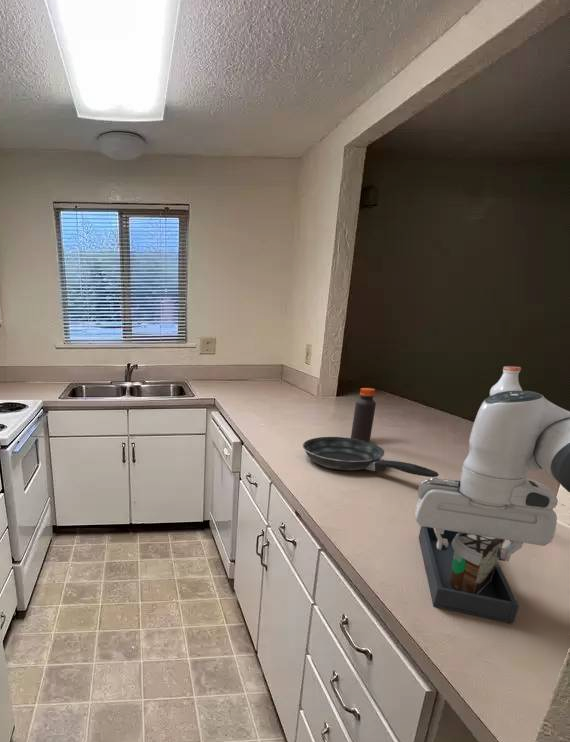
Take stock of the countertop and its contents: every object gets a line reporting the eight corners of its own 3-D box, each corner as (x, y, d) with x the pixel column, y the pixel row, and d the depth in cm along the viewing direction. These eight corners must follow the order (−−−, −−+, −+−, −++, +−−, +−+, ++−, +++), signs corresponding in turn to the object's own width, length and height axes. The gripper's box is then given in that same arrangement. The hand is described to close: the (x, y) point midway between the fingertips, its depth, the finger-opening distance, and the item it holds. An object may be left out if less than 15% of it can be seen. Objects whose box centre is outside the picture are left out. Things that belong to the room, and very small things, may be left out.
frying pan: (285, 456, 150) (287, 438, 147) (337, 445, 160) (340, 427, 158) (400, 506, 113) (405, 483, 111) (458, 487, 124) (463, 465, 121)
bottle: (354, 444, 162) (362, 391, 155) (347, 438, 168) (354, 387, 161) (372, 444, 161) (381, 390, 154) (365, 438, 168) (373, 387, 161)
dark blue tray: (479, 547, 94) (483, 532, 93) (513, 624, 72) (519, 605, 71) (418, 537, 99) (421, 522, 97) (433, 606, 77) (437, 588, 75)
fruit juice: (487, 438, 166) (506, 364, 156) (514, 445, 158) (536, 367, 148) (471, 441, 163) (489, 366, 153) (497, 448, 155) (518, 369, 145)
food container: (458, 563, 88) (469, 520, 84) (493, 578, 83) (507, 532, 80) (430, 587, 81) (442, 540, 77) (468, 604, 76) (481, 555, 73)
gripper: (423, 482, 76) (408, 550, 81) (571, 502, 68) (545, 575, 73) (419, 470, 81) (406, 534, 86) (556, 486, 74) (533, 556, 78)
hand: (471, 553), depth 80 cm, fingers open, 8 cm apart
